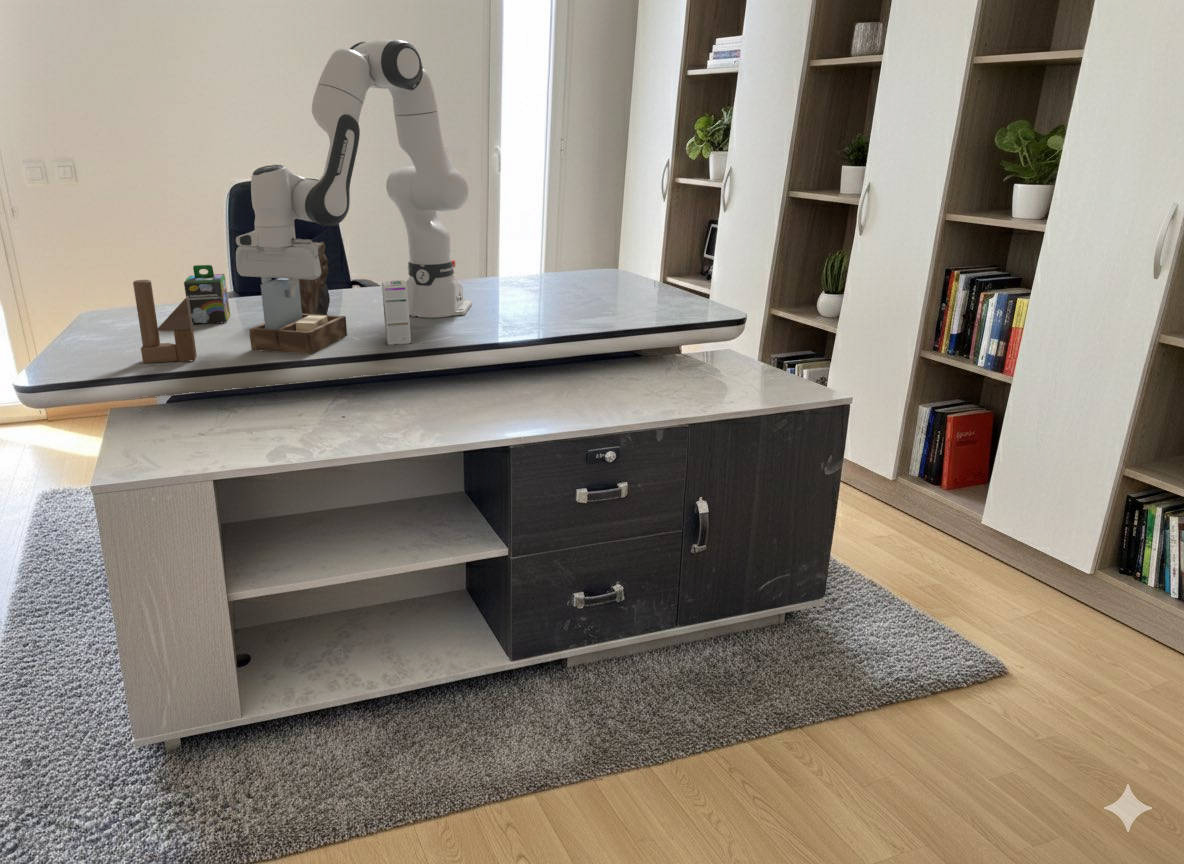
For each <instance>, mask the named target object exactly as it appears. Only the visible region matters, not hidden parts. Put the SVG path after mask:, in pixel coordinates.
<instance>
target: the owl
mask: <svg viewBox="0 0 1184 864" xmlns="http://www.w3.org/2000/svg"><path fill="white" fill-rule="evenodd" d="M313 242H314V243H315V244H316V245H317V247H318V258H319V262H320V267H321V275H320V276H319V278H317V279H314V280H306V279H299V288H300V298H301V309H302V314H317V315H328V311H329V307H330V302H331V301H330V300H331V299H330V293H329V289H328V287H327V276H328V274H329V264H328V263H329V260H328V258H327V256H326V253H325V251H326V244H325V242H324V241H320V242H316V241H313ZM311 244H313V243H311ZM276 279H279V278H275V280H276Z"/></svg>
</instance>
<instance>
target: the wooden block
mask: <svg viewBox="0 0 1184 864" xmlns="http://www.w3.org/2000/svg"><path fill="white" fill-rule="evenodd" d="M132 285H133V291H134V299H135V303H136V305H135V306H136V310H137V318H138V324H139V330H140V336H141V337H140V338H141V343H142V346H141V348H140V353H141V359H142V363H143V364H152V363H155V362H157V363H171V362H174V361H176V362H180V361H181V362H190V361H189V360H194V361H195V360H196V359H197V349H196V347H197V346H196V340H195V332H194V328H193V325H194V324H192V318H191V310H190V303H189V296H187V297H186V296H185V298H184V299H183V300H182V301H181V302H180V303H179V304H178V306H177V307H175V309H174V310H172V312H171V313H170V314H169V315H168V317H167V318H166V319H165V320H164V321H163V322H162V323H161V324H160V325H159V326H158V321H157V314H156V313H157V312H156V305H155V297H154V291H153V285H152V280H149V279H136V280H134V281H133V283H132ZM164 331H165V332H167V331H168V332H169V331H173V335H174V343H172V342H171V343H170V342H163V343H162V342H161V339H160V334H159V332H164Z"/></svg>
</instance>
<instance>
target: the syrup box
mask: <svg viewBox="0 0 1184 864" xmlns="http://www.w3.org/2000/svg"><path fill="white" fill-rule="evenodd" d="M405 282H406V280H389V281H382V282H381V291H382V302H383V303H382V304H383V305H382V306H383V315H384V317H383V318H384V328H385V329H384V330H385V340H386V343H387V345H390V346H391V345H392V346H393V345H394V344H399V345H409V343H411V344H412V338H411V337H412V336H411V321H410V315H409V306H408V294H407V285H406V283H405ZM394 346H395V345H394Z"/></svg>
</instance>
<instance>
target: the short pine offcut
mask: <svg viewBox="0 0 1184 864" xmlns="http://www.w3.org/2000/svg"><path fill="white" fill-rule="evenodd" d="M327 322H328V318H327V316H314V315H309V316H307V317H305V318H303V319H302V320H300V321H298V322H296V331H309V330H311V329H314V328H316V327H318V326H320V325H322V324H325V323H327Z"/></svg>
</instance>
